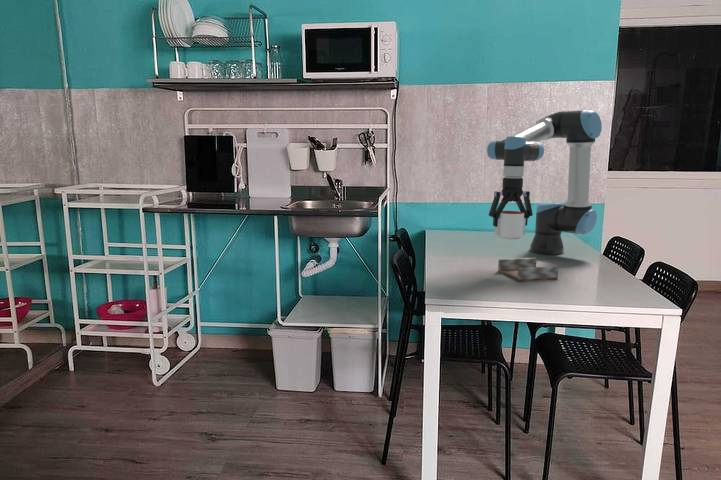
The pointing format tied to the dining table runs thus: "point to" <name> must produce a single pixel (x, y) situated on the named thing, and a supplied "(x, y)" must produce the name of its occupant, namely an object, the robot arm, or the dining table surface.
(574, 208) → the robot arm
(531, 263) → the cradle
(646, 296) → the dining table surface
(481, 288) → the dining table surface
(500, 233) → the cup
